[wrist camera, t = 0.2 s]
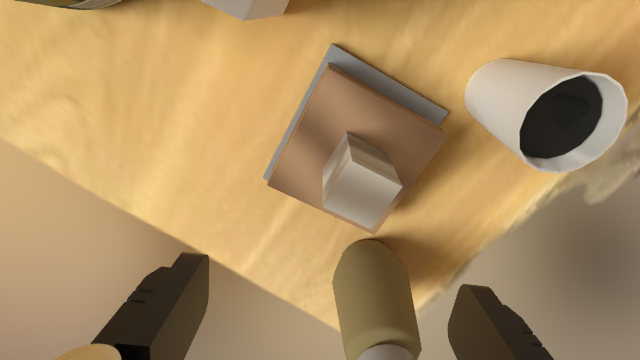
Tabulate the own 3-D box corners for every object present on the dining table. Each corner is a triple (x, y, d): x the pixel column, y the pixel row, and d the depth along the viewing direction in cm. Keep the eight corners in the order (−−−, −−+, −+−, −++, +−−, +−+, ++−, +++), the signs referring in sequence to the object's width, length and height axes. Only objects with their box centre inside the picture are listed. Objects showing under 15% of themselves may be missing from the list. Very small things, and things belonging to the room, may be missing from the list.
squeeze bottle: (321, 274, 40) (321, 453, 24) (347, 221, 36) (367, 388, 20) (383, 291, 41) (423, 473, 25) (413, 241, 37) (483, 415, 21)
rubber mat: (331, 43, 28) (332, 44, 27) (445, 110, 31) (448, 112, 30) (264, 174, 34) (262, 178, 33) (365, 221, 36) (365, 226, 36)
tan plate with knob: (328, 62, 28) (330, 84, 20) (435, 123, 30) (479, 167, 22) (272, 168, 33) (255, 224, 24) (369, 214, 35) (385, 280, 26)
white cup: (481, 42, 28) (557, 56, 19) (550, 66, 29) (653, 90, 20) (445, 115, 31) (496, 158, 22) (509, 136, 32) (582, 184, 23)
